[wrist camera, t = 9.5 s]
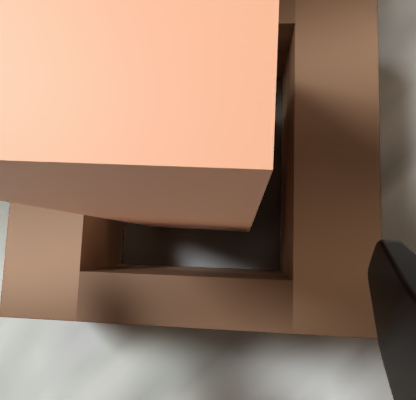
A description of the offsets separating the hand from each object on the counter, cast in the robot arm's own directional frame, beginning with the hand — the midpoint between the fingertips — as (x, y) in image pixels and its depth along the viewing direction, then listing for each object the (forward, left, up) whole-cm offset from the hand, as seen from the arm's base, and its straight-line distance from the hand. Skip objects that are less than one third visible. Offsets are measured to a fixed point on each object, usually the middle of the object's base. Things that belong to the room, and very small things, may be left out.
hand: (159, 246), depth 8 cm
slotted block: (+2, +2, -7) cm, 8 cm away
